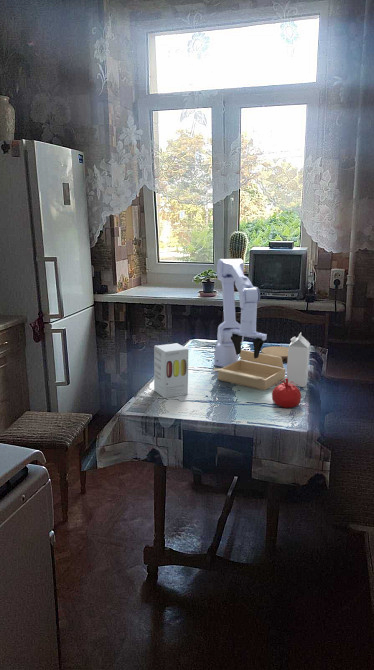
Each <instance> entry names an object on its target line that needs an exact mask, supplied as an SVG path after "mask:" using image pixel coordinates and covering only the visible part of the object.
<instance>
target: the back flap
mask: <svg viewBox="0 0 374 670" xmlns="http://www.w3.org/2000/svg"><path fill="white" fill-rule="evenodd" d="M239 357H240V360H244V361H249V362H254V363H259V364H264V365H269V366H274V367H279V368H284V369H285V365H284V362H282V358H281V357H278V356H273V355H268V354H262V353H261V352H259V356H258V358H254V351H250V350H245V349H241V353H240V354H239Z"/></svg>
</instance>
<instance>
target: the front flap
mask: <svg viewBox="0 0 374 670" xmlns="http://www.w3.org/2000/svg"><path fill="white" fill-rule="evenodd" d="M221 368H222V367H221ZM221 368H212V370H213V371H216V372H218V371H221V372H225V373H230V374H234V375H239V376H243V377H248V378H252V379H257V380H258V379H264V378H262V377H257V376H253V375H248V374H244V373H239V372H234V371H230V370H225V369H221Z"/></svg>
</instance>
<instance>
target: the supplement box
mask: <svg viewBox="0 0 374 670" xmlns="http://www.w3.org/2000/svg"><path fill="white" fill-rule="evenodd" d="M153 350H154V353H153V354H154V356H153V358H154V361H153V367H154V369H153V370H154V373H153V374H154V375H153V376H154V378H153V380H154V381H153V382H154V383H153V391H154V392H155V393H157V394H158V395H160V396H161V397H162V398H164V399H168V398H175V397H180V396H181V397H182V396H185V395H186V396H187V395H188V394H189V348H187V347H186V346H184V345H181V344H179V343H177V342H176V343H175V342H174V343H166V344H158V345H157V344H156V345H154V346H153Z"/></svg>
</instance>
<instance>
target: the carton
mask: <svg viewBox="0 0 374 670" xmlns="http://www.w3.org/2000/svg"><path fill="white" fill-rule="evenodd" d="M221 369H225V370H230V371H234V372H239V373H244V374H248V375H253V376H257V377H262V378H264V379H258V380H257V379H252V378H248V377H243V376H239V375H234V374H230V373H225V372H221V371H217V380H218V381H223V382H226V383H231V384H235V385H238V386H243V387H248V388H251V389H256V390H261V391H267V390H269V389H271V388H272V387H273V386H275V384H277V385H278V383H279V384H280V382H282V381H285V378H286V368H285V367H284V368H281V367H276V366H271V365H266V364H261V363H256V362H251V361H246V360H241V359H238V361H236V362H234V363H232V364H230V365H228V366H225V367H221ZM281 380H282V381H281Z"/></svg>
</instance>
